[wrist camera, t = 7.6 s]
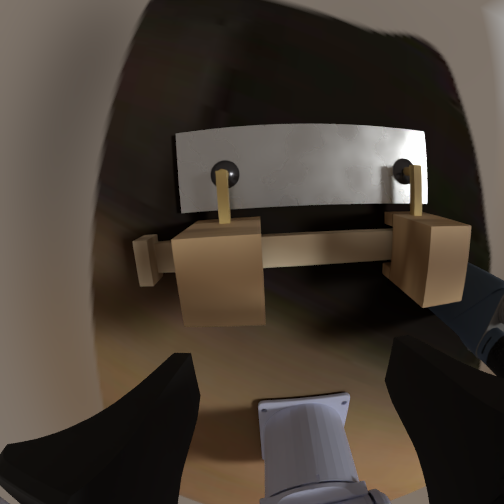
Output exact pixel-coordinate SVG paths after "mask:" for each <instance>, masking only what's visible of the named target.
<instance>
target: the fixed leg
mask: <svg viewBox="0 0 504 504" xmlns="http://www.w3.org/2000/svg"><path fill="white" fill-rule="evenodd" d="M403 173H404V175H406V176H410V211H409V212H385V224H387V225H390V226H393V239H392V258H391V262H386V263H383V270H382V274H383V275H385V276H386V277H387V278H388V279H390V280H391V281H392V282H393V283H394V284H395V285H397V286H398V287H399V288H400V289H401V290H402V291H404V292H405V293H406V294H407V295H408V296H409V297H411V298H412V299H413V300H414V301H415V302H416V303H417V304H419V305H420V306H421V307H422V308H425V307H431V306H437V305H442V304H448V303H453V302H458V301H461V300H462V295H463V289H464V283H465V277H466V271H467V263H468V255H469V246H470V235H471V225H467V224H464V223H460V222H457V221H454V220H450V219H446V218H443V217H439V216H435V215H432V214H428V213H424V212H422V169H421V165H409V167H405V168H404V169H403Z"/></svg>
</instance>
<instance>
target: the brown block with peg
mask: <svg viewBox="0 0 504 504" xmlns="http://www.w3.org/2000/svg"><path fill="white" fill-rule="evenodd" d="M215 173H216V187H217V200H218V213H219V219H214V220H200V221H197V222H195V223H194V224H193V225H191V226H190V227H188V228H187V229H185V230H184V231H183V232H181V233H180V234H178V235H177V236H176V237H174V238H173V239H171V243H172V251H173V258H174V265H175V272H176V279H177V286H178V292H179V298H180V304H181V310H182V316H183V322H184V327H224V326H252V325H266V320H265V298H264V277H263V260H262V243H261V225H260V217H243V218H231V216H230V202H229V188H228V177H229V172H228V171H227V170H224V169H220V170H218V171H215Z"/></svg>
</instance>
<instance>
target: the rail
mask: <svg viewBox="0 0 504 504" xmlns="http://www.w3.org/2000/svg"><path fill="white" fill-rule="evenodd" d="M392 239H393V228H391V229H365V230H341V231H320V232H300V233H281V234H263V235H261V243H262V260H263V268H270V267H287V266H304V265H319V264H335V263H349V262H364V261H377V260H391V258H392ZM132 242H133V248H134V255H135V261H136V267H137V273H138V278H139V284H140V286H154V285H155V284H156V283H157V282H158V281H159V280H160V279H161V278H162V277H163V273H168V272H175V265H174V258H173V251H172V243H171V240H169V241H158V236H157V234H152V235H144V236H142V237H140V238H138V239H136V240H134V241H132Z"/></svg>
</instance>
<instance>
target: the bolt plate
mask: <svg viewBox="0 0 504 504" xmlns="http://www.w3.org/2000/svg"><path fill="white" fill-rule="evenodd" d="M176 149H177V165H178V179H179V191H180V203H181V213H190V212H202V211H214V210H218V200H217V187H216V173H215V171H218V170H220V169H224V170H227V171H228V172H229V177H228V188H229V202H230V209H243V208H259V207H277V206H298V205H325V204H371V203H410V176H406V175H404V173H403V169H404V168H405V167H409V165H421V169H422V203H424V204H427V165H426V148H425V136H424V132H423V131H415V130H407V129H398V128H389V127H377V126H363V125H344V124H274V125H254V126H240V127H228V128H218V129H208V130H200V131H192V132H185V133H178V134H176Z"/></svg>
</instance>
